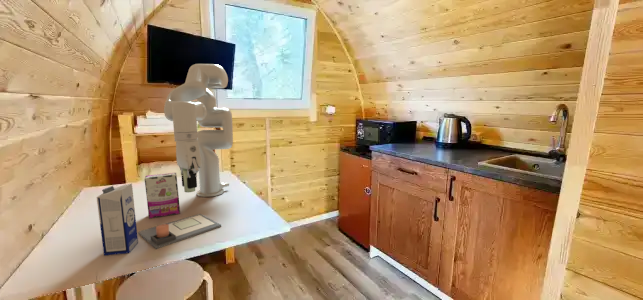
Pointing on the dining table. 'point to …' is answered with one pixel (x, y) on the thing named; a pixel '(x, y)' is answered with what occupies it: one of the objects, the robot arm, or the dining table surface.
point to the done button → (162, 230)
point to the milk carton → (117, 220)
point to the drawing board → (180, 230)
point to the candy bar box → (162, 195)
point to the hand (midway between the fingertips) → (189, 186)
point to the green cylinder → (186, 181)
